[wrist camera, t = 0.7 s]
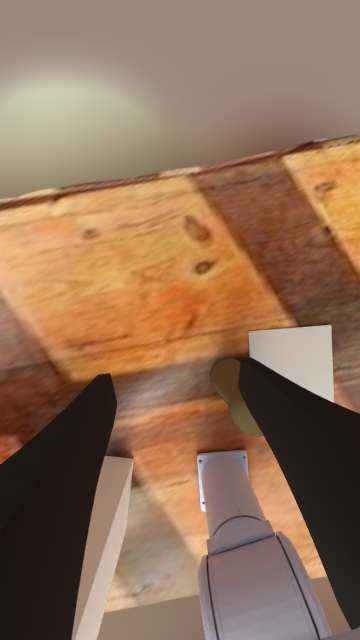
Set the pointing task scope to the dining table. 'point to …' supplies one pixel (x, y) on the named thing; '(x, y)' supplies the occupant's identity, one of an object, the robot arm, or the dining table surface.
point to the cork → (233, 394)
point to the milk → (103, 545)
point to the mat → (297, 355)
